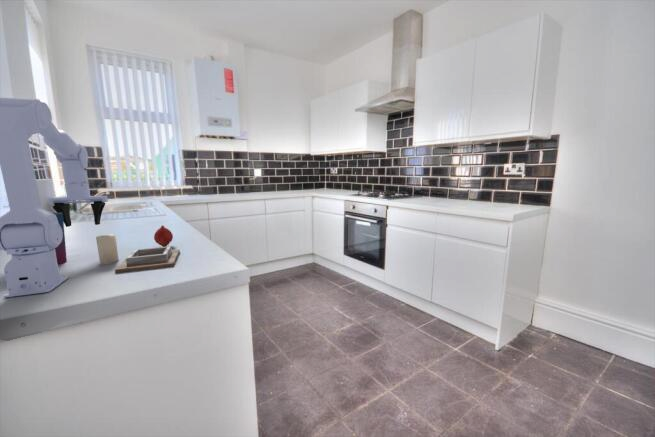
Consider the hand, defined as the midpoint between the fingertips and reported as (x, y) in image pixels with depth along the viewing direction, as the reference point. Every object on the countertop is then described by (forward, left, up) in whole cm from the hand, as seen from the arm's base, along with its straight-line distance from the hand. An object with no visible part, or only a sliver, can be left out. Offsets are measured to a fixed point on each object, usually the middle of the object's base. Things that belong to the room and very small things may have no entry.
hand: (83, 225), depth 93 cm
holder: (-16, -21, -10) cm, 28 cm away
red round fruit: (+2, -22, -10) cm, 24 cm away
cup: (-6, +6, -10) cm, 13 cm away
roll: (-11, -9, -10) cm, 17 cm away
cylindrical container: (+3, +11, -10) cm, 15 cm away
